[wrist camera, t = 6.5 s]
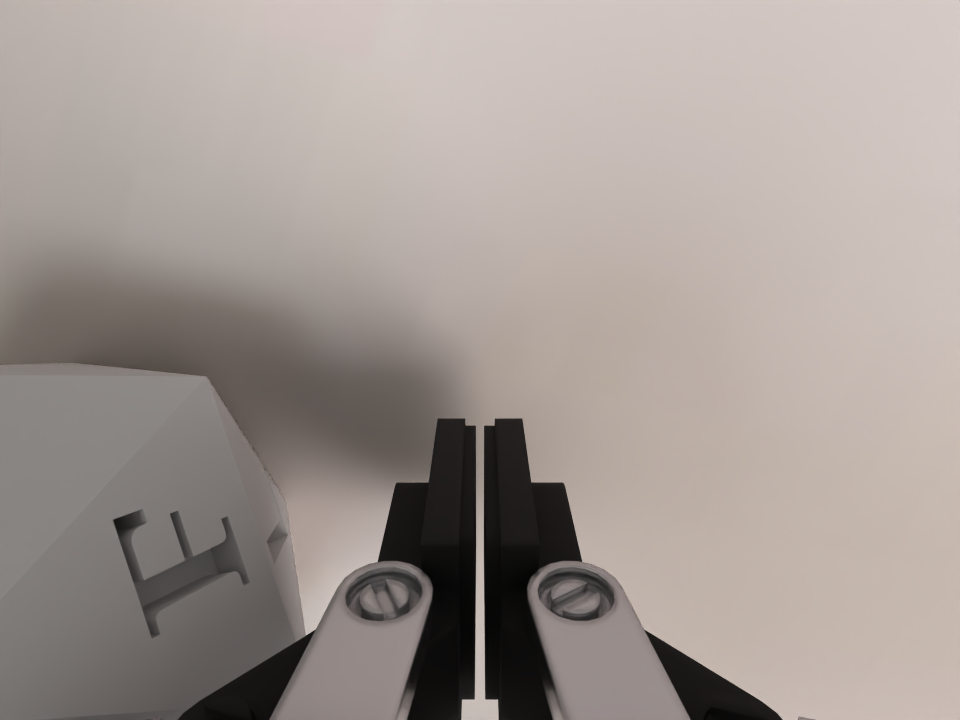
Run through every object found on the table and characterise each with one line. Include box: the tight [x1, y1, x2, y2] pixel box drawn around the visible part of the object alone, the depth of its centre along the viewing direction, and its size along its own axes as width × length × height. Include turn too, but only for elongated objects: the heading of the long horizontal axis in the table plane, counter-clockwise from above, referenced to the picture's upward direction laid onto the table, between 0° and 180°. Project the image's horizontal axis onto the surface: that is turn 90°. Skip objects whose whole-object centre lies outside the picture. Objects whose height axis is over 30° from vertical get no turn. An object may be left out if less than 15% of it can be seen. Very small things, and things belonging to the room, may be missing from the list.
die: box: [0, 362, 306, 720], centre depth 10 cm, size 8×9×10 cm
